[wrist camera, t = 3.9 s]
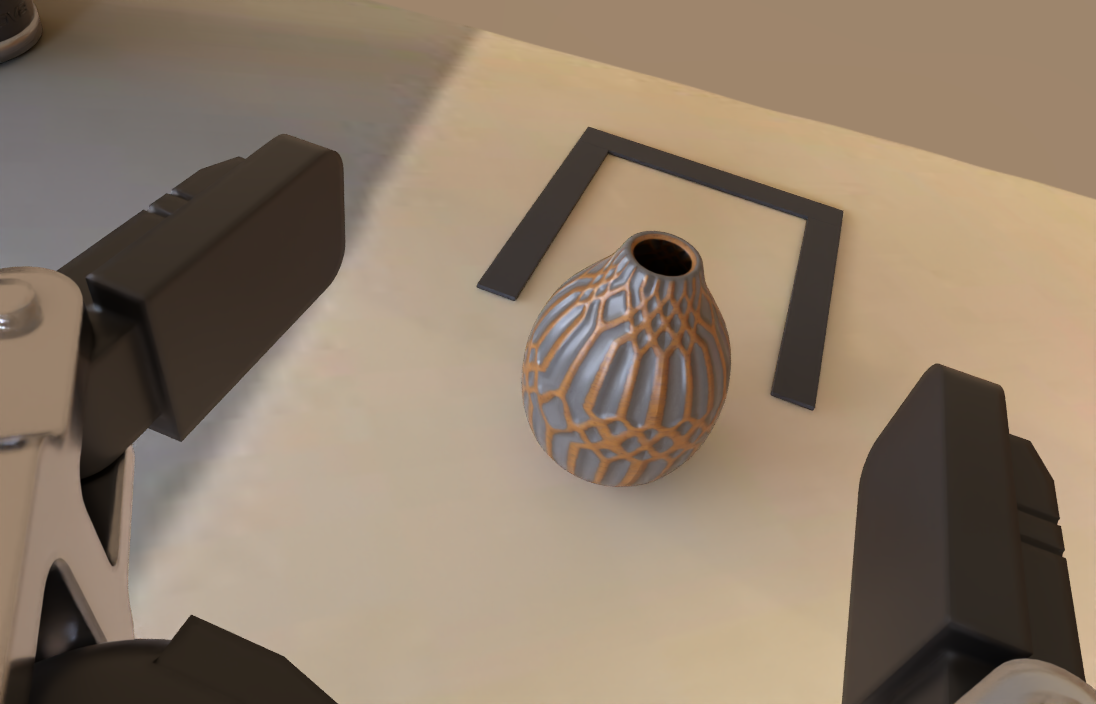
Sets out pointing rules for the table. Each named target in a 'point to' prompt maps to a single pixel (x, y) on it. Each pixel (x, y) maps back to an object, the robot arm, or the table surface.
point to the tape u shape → (823, 222)
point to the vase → (628, 364)
